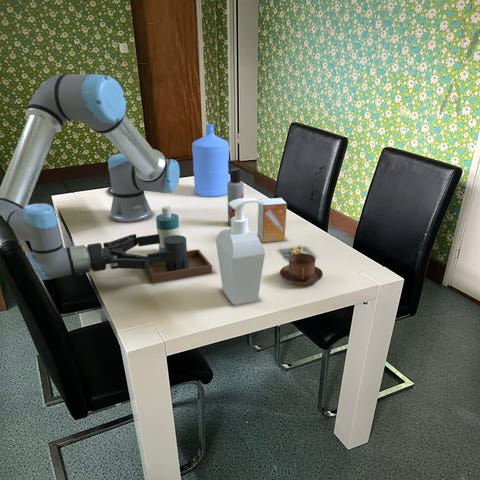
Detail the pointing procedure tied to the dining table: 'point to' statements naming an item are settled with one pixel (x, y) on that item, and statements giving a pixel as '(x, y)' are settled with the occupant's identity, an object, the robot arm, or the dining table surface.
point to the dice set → (294, 251)
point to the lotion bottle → (234, 190)
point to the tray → (196, 267)
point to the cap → (176, 252)
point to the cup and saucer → (301, 270)
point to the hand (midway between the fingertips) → (165, 246)
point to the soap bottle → (240, 257)
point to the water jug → (210, 164)
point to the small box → (272, 219)
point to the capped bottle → (166, 225)
